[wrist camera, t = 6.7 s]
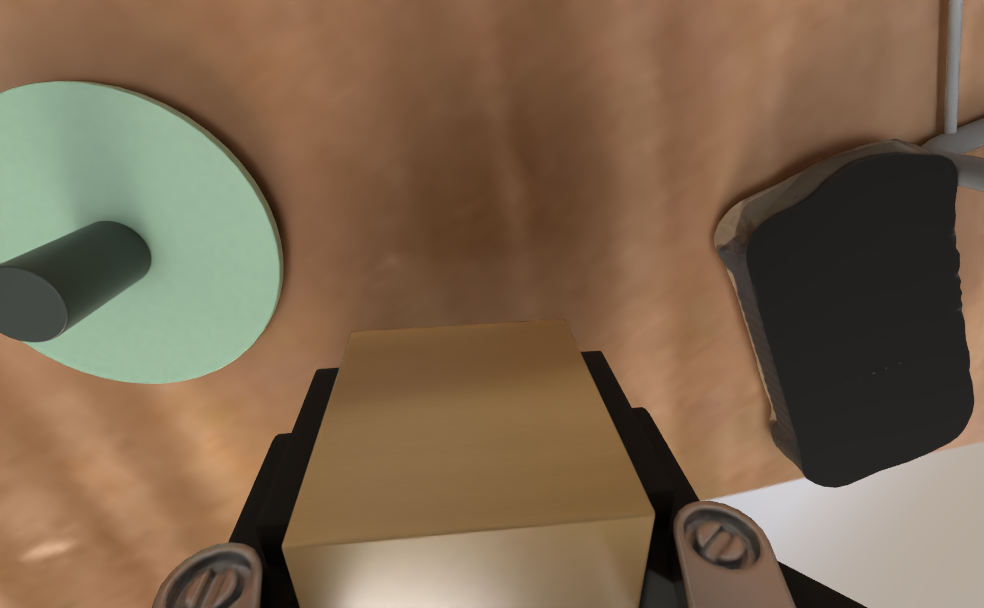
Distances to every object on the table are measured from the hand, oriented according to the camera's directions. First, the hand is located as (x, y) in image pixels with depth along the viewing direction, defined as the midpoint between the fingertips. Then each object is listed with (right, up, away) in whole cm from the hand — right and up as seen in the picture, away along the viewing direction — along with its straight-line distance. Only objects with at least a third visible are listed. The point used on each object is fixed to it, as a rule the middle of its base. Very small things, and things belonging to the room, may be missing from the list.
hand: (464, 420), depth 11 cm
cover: (-14, +5, +10) cm, 18 cm away
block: (0, 0, 0) cm, 0 cm away
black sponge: (+17, +2, +15) cm, 23 cm away
